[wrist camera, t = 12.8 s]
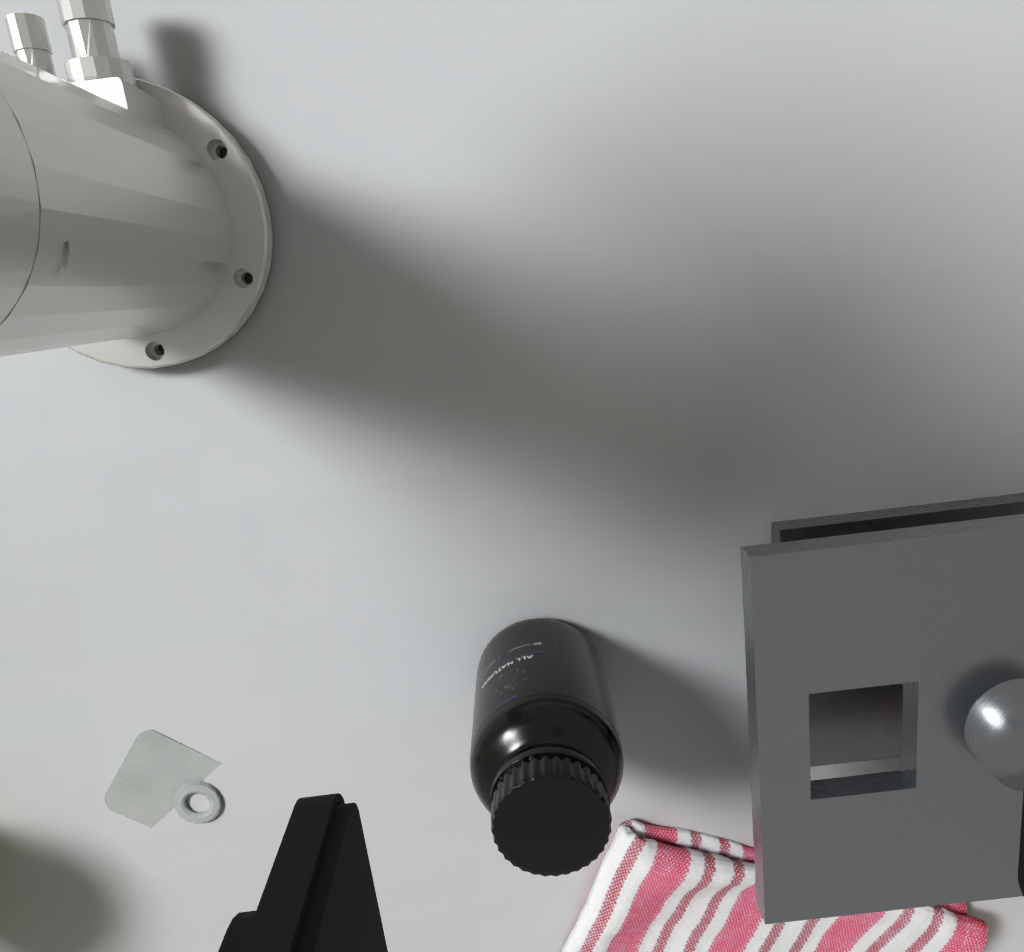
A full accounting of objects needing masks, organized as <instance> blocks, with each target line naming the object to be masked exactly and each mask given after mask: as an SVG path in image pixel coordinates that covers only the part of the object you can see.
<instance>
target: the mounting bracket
mask: <svg viewBox="0 0 1024 952" xmlns="http://www.w3.org/2000/svg"><path fill="white" fill-rule="evenodd" d="M220 764H221V763H220V762H218V761H216V760H214V759H212V758H210V757H208V756H206V755H204V754H202V753H200V752H198V751H195V750H193V749H191V748H189V747H187V746H185V745H183V744H181V743H179V742H177V741H175V740H173V739H171V738H169V737H167V736H165V735H163V734H161V733H159V732H156V731H154V730H147V731H144V732H142V733H141V734H139V735H138V737H137V738H136V739H135V741H134V743H133V745H132V747H131V748H130V750H129V752H128V754H127V756H126V758H125V759H124V761H123V763H122V765H121V767H120V769H119V770H118V772H117V774H116V776H115V778H114V779H113V781H112V783H111V785H110V787H109V789H108V790H107V792H106V795H105V803H106V805H107V807H108V808H109V809H110V810H112V811H115V812H117V813H119V814H121V815H124V816H126V817H128V818H130V819H132V820H135V821H137V822H139V823H141V824H144V825H146V826H148V827H150V828H152V827H153V826H154V825H155V824H156V823H158V822H159V821H160V820H161V819H162V818H163V817H164V816H165V815H166V814H167V813H168V812H169V811H171V810H172V809H173V808H174V807H175V810H176V811H177V813H178V814H179V815H180V817H182V818H183V819H185V820H186V821H188V822H192V823H196V824H200V823H207V822H209V821H212V820H214V819H215V818H216V817H217V816H218V815H219V814H220V813H221V811H222V808H223V805H224V804H223V798H222V795H221V794H220V792H219V791H218V789H217V788H215V787H214V786H213V785H211V784H210V783H207V782H204V781H203V780H204V779H205V778H206V777H207V776H208V775H209V774H210V773H212V772H213V771H214V770H215V769H216V768H217V767H218V766H219V765H220ZM194 793H199V794H203V795H204V796H206V797H207V798H208V799H209V801H210V808H209V809H208V810H206V811H204V812H196V811H193V810H192V809H190V808H189V806H188V805H187V801H186V799H187V797H188V796H189V795H191V794H194Z"/></svg>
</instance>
